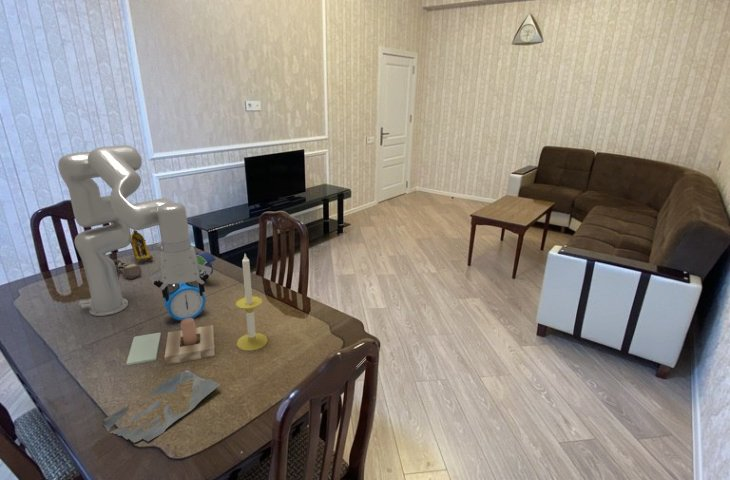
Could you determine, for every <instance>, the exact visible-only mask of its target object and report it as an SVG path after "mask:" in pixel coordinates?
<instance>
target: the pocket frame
mask: <svg viewBox="0 0 730 480" xmlns="http://www.w3.org/2000/svg"><path fill="white" fill-rule="evenodd" d="M195 328H196V335H197V342H199V343H198V344H194V345H189V346H184V341H183V334H182V329H181V330H174V331H168V332H167V338H166V344H165V353H164V362H165V366H169V365H174V364H181V363H185V362H190V361H196V360H201V359H207V358H213V357H215V356H216V355H215V354H216V353H215V350H216V349H215V332H214V325H213V324H210V325H206V326H199V327H195Z"/></svg>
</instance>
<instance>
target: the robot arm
mask: <svg viewBox="0 0 730 480" xmlns="http://www.w3.org/2000/svg"><path fill="white" fill-rule="evenodd" d="M142 164H143V162H142V157H141V155H140V152H139V151H138V150H137V149H136V148H134V147H132V146H130V145H127V144H123V145H113V146H111V145H110V146H109V145H108V146H102V147H101V146H100V147H97V148H95V149H93V150H91V151H83V152H81V151H80V152H75V153H67V154H65V155H63V156H61V157H60V158H59V160H58V171H59V175H60V177H61V179H62V180H63V182H64V183H65V185H66V187H67V189H68V192H69V198H70V202H71V207H72V211H73V215H74V218H75V221H76V224H77V225H78V226H79V227H82V228H91V229H86V230H84V231H82V232H79V233H78V234H77V235H76V236H75V238H74V245H75V248H76V250H77V252H78V254H79V257H80V259H81V263H82V265H83V266H82V267H83V268H84V273H85V274H84V275H85V277H86V281H87V287H88V289H89V294H90V298H89V299H87V300H85V299H84V300H79V301H78V304H79V306H80V307H81V309H85V308H88V312H89V314H90V315H92V316H95V317H104V316H105V317H106V316H111V315H114V314H118V313H119V312H121V311H123V310H125V309H126V308H127V307H128V306H129V301H128V299H126V298H125V297H124V298H123V295H122V289H121V285H120V281H119V274H118V271H117V266H116V265H115V261H114V260H113V259H112V258H110V257H108V256H107V254H108V253H110V252H114V251H117V250H120V249H124V248H127V247H129V246H130V245H131V243H130V242H131V234H132V233H131V230H133V231H134V230H136V231H142V230H145V229H149V228H152V227H156V226H158V228H159V235H160V242H158V243H157V242H156V248H158V249H159V248H160V249H161V250H160V254H159V255H160V256H159V258H160V259H159V260H160V261H159V262H160V269H158V270H156V271H154V272H153V273H151V274H150V275H149V277H148V279H149V281H151V283H153V285H154V286H156V287H158V288H159V289H160V290H161V293H162V299H164V298H165V299H166V301H169V292H168V286H167V285H168V284H177V283H184V282H191V281H198V282H199V286H198V287H199V291H200V296H203V293H205V291H206V290H205V282H206V281H208V280H209V278H210V276H211V275H210V273H211V271H212V269H211V268H210V267H207V266H204V265H200V264H198V261H197V257H196V253H195V252H196V250H195V248H194V246H193V245H192V244H191V239H190V231H189V225H188V215H187V210H186V207H185V205H184V204H182V203H180V202H174V201H172V200H170V199H168V198H165V197H164V198H157V199H153V200H146V201H142V202H138V203H137V202H136V203H134V204H133V203H131V202H129V200H128V199H127V198H128V197H129V196H131V195H133V194H134V192H136V191H138V189H139V188H140V186H141V182H142V179H141V176H140V174H139V173H138V172H137V171H138V170H139V169H140V168H141V167H142ZM95 178H101V179H102V180H103V182H105V183H106V184H107V185H108V186H109V187H110V189H111V192H110V195H107V196H106V195H105V196H101V191H100V187H99V185H98V184H97V182H96V181H95V180H94V179H95ZM105 224H107V225H105ZM101 225H103V226H101ZM97 226H98V227H97ZM99 226H100V227H99ZM92 227H94V228H92ZM199 270H203V271H206V273H205V274H204V276H203V277H202V276H201V275H199ZM160 276H161V279H162V281H160V280H159V279H158V277H160Z"/></svg>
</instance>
